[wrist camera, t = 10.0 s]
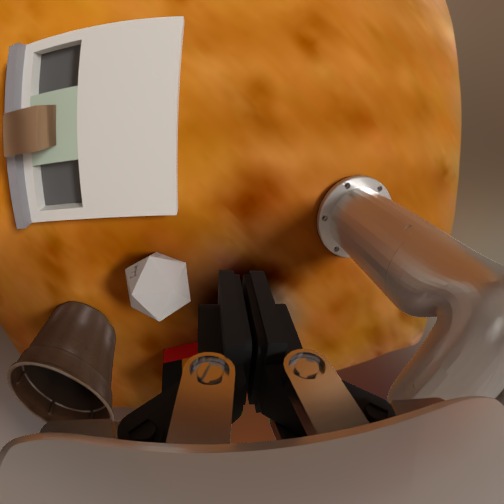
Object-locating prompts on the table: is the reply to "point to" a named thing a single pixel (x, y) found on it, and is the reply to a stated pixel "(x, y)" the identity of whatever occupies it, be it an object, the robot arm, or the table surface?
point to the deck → (99, 121)
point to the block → (29, 129)
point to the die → (158, 285)
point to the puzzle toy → (176, 363)
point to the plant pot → (67, 367)
